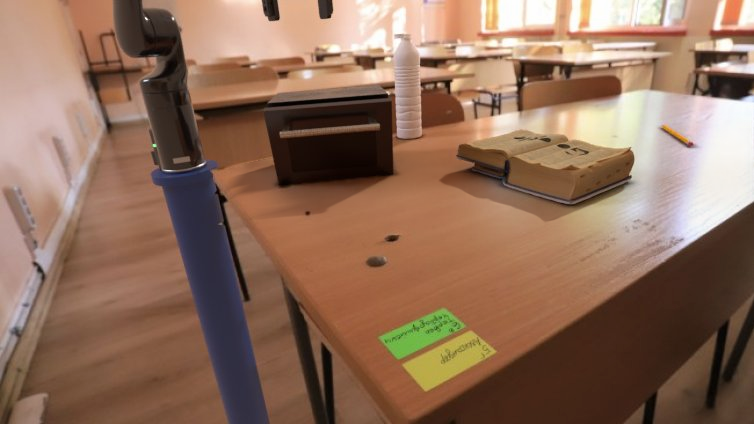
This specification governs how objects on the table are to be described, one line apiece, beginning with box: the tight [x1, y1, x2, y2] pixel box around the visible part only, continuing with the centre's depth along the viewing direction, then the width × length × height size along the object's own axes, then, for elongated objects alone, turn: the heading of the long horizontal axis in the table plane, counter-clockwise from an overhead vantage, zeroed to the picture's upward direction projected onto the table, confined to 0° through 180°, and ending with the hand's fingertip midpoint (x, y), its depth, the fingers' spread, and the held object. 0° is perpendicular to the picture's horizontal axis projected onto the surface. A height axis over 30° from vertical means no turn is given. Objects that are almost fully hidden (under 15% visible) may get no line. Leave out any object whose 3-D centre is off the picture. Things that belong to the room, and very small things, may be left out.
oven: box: [266, 84, 389, 108], centre depth 86 cm, size 16×22×15 cm
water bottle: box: [392, 33, 423, 140], centre depth 104 cm, size 9×6×25 cm
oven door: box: [262, 97, 394, 186], centre depth 74 cm, size 6×22×15 cm, turn 95°
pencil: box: [661, 124, 694, 147], centre depth 93 cm, size 1×19×1 cm, turn 163°
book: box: [455, 129, 636, 205], centre depth 73 cm, size 25×17×6 cm, turn 32°
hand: (300, 19), depth 59 cm, fingers open, 8 cm apart
